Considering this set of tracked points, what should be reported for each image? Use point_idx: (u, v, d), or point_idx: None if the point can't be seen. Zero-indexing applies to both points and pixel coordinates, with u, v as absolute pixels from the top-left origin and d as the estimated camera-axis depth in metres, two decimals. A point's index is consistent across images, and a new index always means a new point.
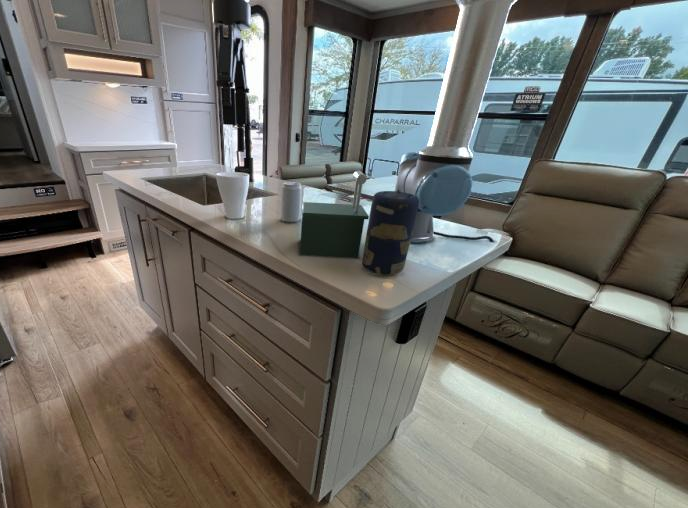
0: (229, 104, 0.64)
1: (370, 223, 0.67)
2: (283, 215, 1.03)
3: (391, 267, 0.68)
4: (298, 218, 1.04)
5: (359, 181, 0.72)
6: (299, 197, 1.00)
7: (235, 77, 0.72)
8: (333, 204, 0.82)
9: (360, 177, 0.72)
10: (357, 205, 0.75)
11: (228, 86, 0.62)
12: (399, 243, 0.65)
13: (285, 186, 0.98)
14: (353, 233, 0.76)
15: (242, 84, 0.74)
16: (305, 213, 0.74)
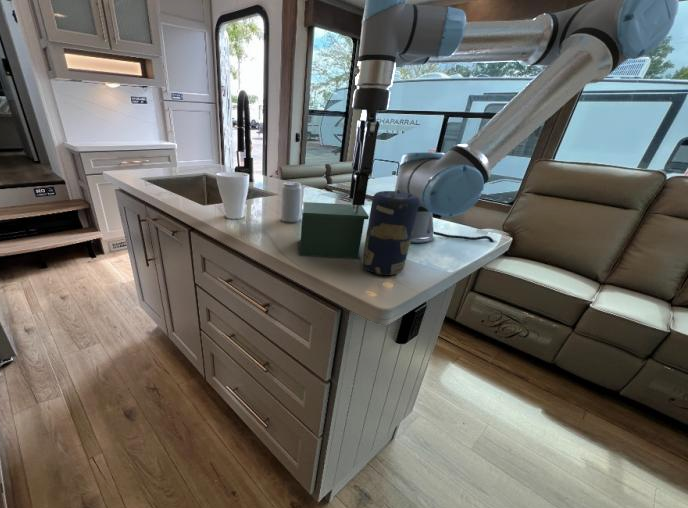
0: (363, 190, 0.71)
1: (370, 223, 0.67)
2: (283, 215, 1.03)
3: (391, 267, 0.68)
4: (298, 218, 1.04)
5: None
6: (299, 197, 1.00)
7: (358, 154, 0.75)
8: (333, 204, 0.82)
9: None
10: (357, 205, 0.75)
11: (365, 176, 0.70)
12: (399, 243, 0.65)
13: (285, 186, 0.98)
14: (353, 233, 0.76)
15: None
16: (305, 213, 0.74)
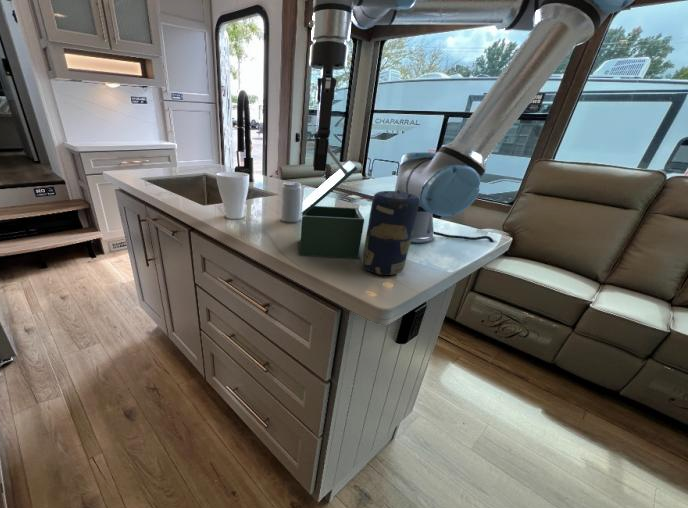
0: (323, 153, 0.68)
1: (370, 223, 0.67)
2: (283, 215, 1.03)
3: (391, 267, 0.68)
4: (298, 218, 1.04)
5: None
6: (299, 197, 1.00)
7: None
8: (325, 182, 0.80)
9: None
10: (340, 166, 0.71)
11: (324, 138, 0.66)
12: (399, 243, 0.65)
13: (285, 186, 0.98)
14: (353, 233, 0.76)
15: None
16: (304, 211, 0.74)
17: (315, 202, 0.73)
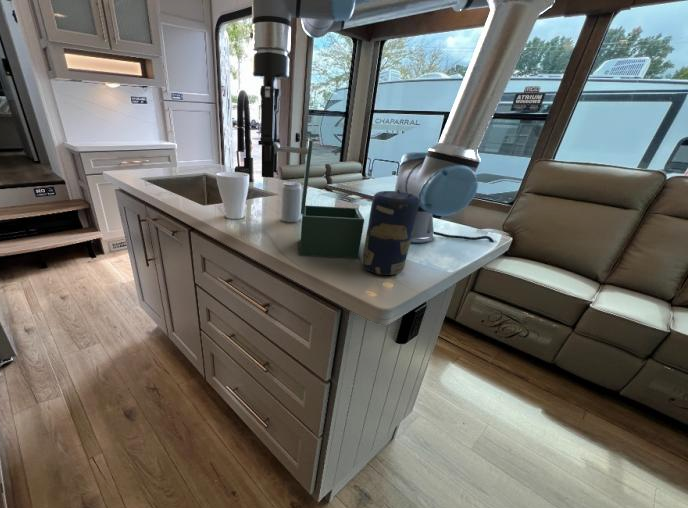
0: (269, 160, 0.69)
1: (370, 223, 0.67)
2: (283, 215, 1.03)
3: (391, 267, 0.68)
4: (298, 218, 1.04)
5: (275, 151, 0.70)
6: (299, 197, 1.00)
7: None
8: None
9: None
10: (299, 151, 0.70)
11: (269, 145, 0.67)
12: (399, 243, 0.65)
13: (285, 186, 0.98)
14: (353, 233, 0.76)
15: (274, 133, 0.74)
16: (301, 211, 0.74)
17: (304, 196, 0.72)
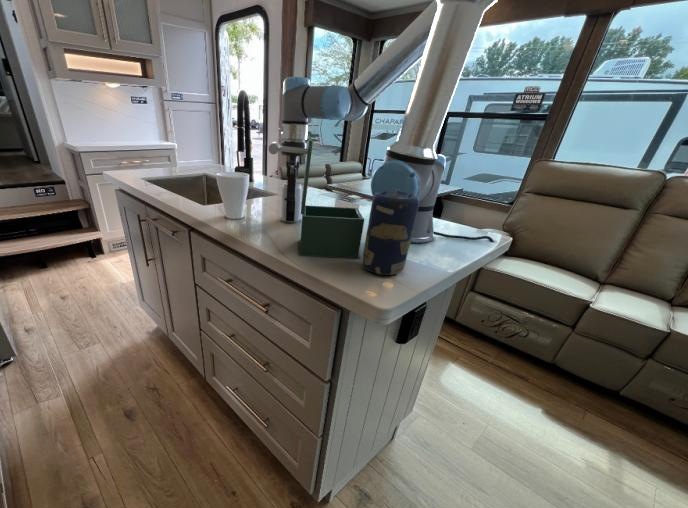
0: (291, 210, 0.99)
1: (370, 223, 0.67)
2: (283, 215, 1.03)
3: (391, 267, 0.68)
4: (298, 218, 1.04)
5: (275, 151, 0.70)
6: (299, 197, 1.00)
7: None
8: None
9: (271, 150, 0.70)
10: (299, 151, 0.70)
11: (292, 201, 0.97)
12: (399, 243, 0.65)
13: (285, 186, 0.98)
14: (353, 233, 0.76)
15: None
16: (301, 211, 0.74)
17: (304, 196, 0.72)
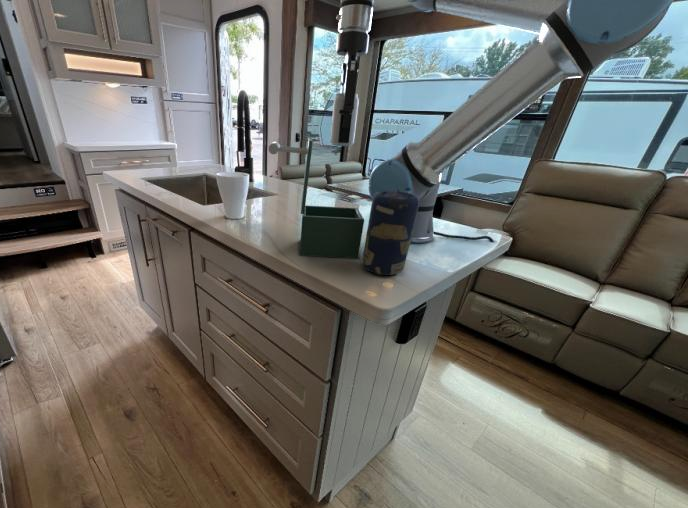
0: (347, 127, 0.80)
1: (370, 223, 0.67)
2: (334, 136, 0.84)
3: (391, 267, 0.68)
4: (352, 140, 0.84)
5: (275, 151, 0.70)
6: (356, 111, 0.81)
7: None
8: None
9: (271, 150, 0.70)
10: (299, 151, 0.70)
11: (349, 113, 0.78)
12: (399, 243, 0.65)
13: (339, 96, 0.79)
14: (353, 233, 0.76)
15: None
16: (301, 211, 0.74)
17: (304, 196, 0.72)
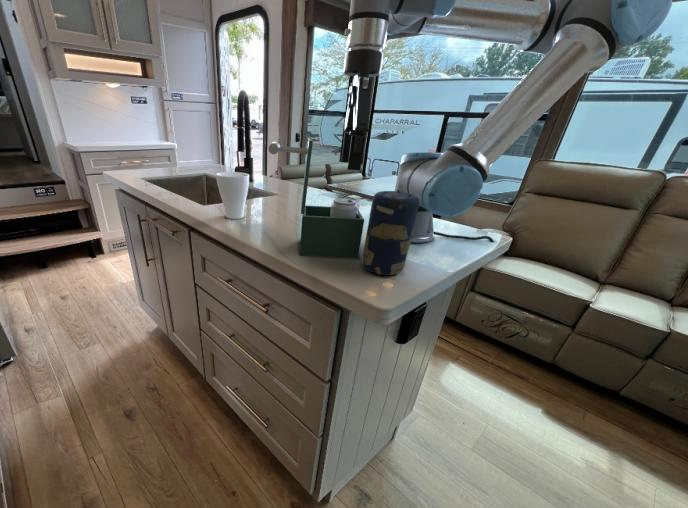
0: (359, 151, 0.64)
1: (370, 223, 0.67)
2: None
3: (391, 267, 0.68)
4: None
5: (275, 151, 0.70)
6: None
7: (349, 119, 0.73)
8: None
9: (271, 150, 0.70)
10: (299, 151, 0.70)
11: (362, 135, 0.63)
12: (399, 243, 0.65)
13: (337, 204, 0.76)
14: (353, 233, 0.76)
15: None
16: (301, 211, 0.74)
17: (304, 196, 0.72)
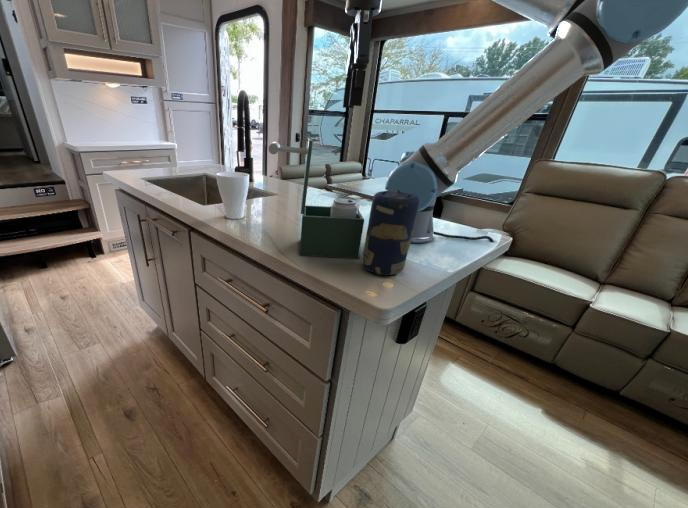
0: (360, 85, 0.68)
1: (370, 223, 0.67)
2: None
3: (391, 267, 0.68)
4: None
5: (275, 151, 0.70)
6: None
7: (351, 62, 0.77)
8: None
9: (271, 150, 0.70)
10: (299, 151, 0.70)
11: (362, 68, 0.66)
12: (399, 243, 0.65)
13: (337, 204, 0.76)
14: (353, 233, 0.76)
15: (355, 69, 0.78)
16: (301, 211, 0.74)
17: (304, 196, 0.72)
